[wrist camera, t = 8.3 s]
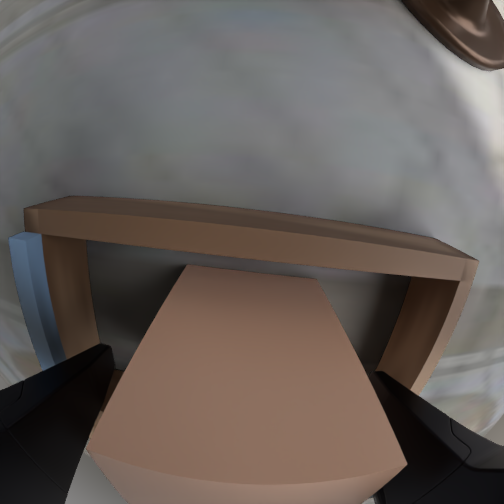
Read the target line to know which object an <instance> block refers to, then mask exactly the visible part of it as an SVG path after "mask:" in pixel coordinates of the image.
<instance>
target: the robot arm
mask: <svg viewBox="0 0 504 504" xmlns="http://www.w3.org/2000/svg"><path fill="white" fill-rule="evenodd" d="M114 369H115V362H114V358H113V353H112V349H111V347H110V346H109V345H105V344H102V343H99V344H97V345H95V346H93V347H91V348H89V349H87V350H85V351H83V352H81V353H79V354H77V355H75V356H73V357H71V358H69V359H66V360H64V361H62V362H60V363H58V364H56V365H54V366H52V367H50V368H48V369H46V370H44V371H42V372H40V373H38V374H35V375H33V376H31V377H29V378H27V379H25V380H24V381H21V382H19V383H16V384H14V385H12V386H10V387H8V388H5V389H2V390H0V504H65V501H66V498H67V495H68V494H67V493H68V491H69V488H70V485H71V483H72V480H73V477H74V474H75V471H76V469H77V466H78V463H79V461H80V458H81V455H82V453H83V451H84V448H85V446H86V443H87V441H88V438H89V436H90V433H91V431H92V429H93V426H94V424H95V422H96V419H97V417H98V415H99V412H100V410H101V408H102V405H103V403H104V400H105V397H106V394H107V391H108V387H109V384H110V381H111V378H112V375H113V372H114ZM368 378H369V380H370V382H371V384H372V386H373V389H374V391H375V393H376V395H377V397H378V399H379V401H380V403H381V405H382V408H383V410H384V412H385V414H386V416H387V418H388V421H389V423H390V425H391V427H392V429H393V432H394V434H395V436H396V439H397V441H398V443H399V445H400V448H401V450H402V452H403V455H404V457H405V459H406V462H407V465H406V466H405V467H404V468H403V469H402V470H401V471H400V472H399V473H398V474H397V475H396V476H394V477H393V478H392V479H391V480H390V481H389V482H388V483H386V484H385V485H384V486H383V487H382V488H380V489H379V490H378V491H377V492H376V493H374V494H373V495H372V496H370V497H369V498H374V501H375V504H504V446H501V445H498V444H496V443H494V442H492V441H490V440H488V439H486V438H484V437H482V436H480V435H478V434H476V433H475V432H473V431H471V430H469V429H467V428H466V427H464V426H463V425H461V424H459V423H458V422H456V421H455V420H453V419H452V418H450V417H449V416H447V415H446V414H444V413H443V412H442V411H440V410H439V409H437V408H436V407H434V406H433V405H431V404H430V403H428V402H427V401H425V400H424V399H422V398H421V397H420V396H418V395H417V394H415V393H414V392H412V391H411V390H409V389H408V388H407V387H405V386H404V385H402V384H401V383H399V382H398V381H397V380H395V379H394V378H392V377H391V376H389V375H388V374H387V373H385V372H384V371H373V372H371V374H370V375H369V377H368ZM369 498H368V499H369Z"/></svg>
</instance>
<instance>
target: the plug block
mask: <svg viewBox="0 0 504 504" xmlns="http://www.w3.org/2000/svg"><path fill="white" fill-rule="evenodd" d="M86 450H87V451H88V453H89V454H90V456H91V457H92V458H93V460H94V461H95V463H96V464H97V466H98V467H99V468H100V469H101V471H102V472H103V474H104V475H105V476H106V478H107V479H108V480H109V481H110V483H111V484H112V485H113V486H114V488H115V489H116V490H117V491H118V493H119V494H120V495H121V496H122V497H123V498H124V499H125V501H126V502H127V503H128V504H361V503H363V502H364V501H365V500H367V499H368V498H369V497H370V496H372V495H373V494H374V493H376V492H377V491H378V490H379V489H380V488H382V487H383V486H384V485H385V484H386V483H388V482H389V481H390V480H391V479H392V478H393V477H394V476H396V475H397V474H398V473H399V472H400V471H401V470H402V469H403V468H404V467H405V466H406V465H407V462H406V459H405V457H404V455H403V452H402V450H401V448H400V445H399V443H398V441H397V439H396V436H395V434H394V432H393V429H392V427H391V425H390V423H389V421H388V418H387V416H386V414H385V412H384V410H383V408H382V405H381V403H380V401H379V399H378V397H377V395H376V393H375V391H374V389H373V386H372V384H371V382H370V380H369V378H368V376H367V374H366V372H365V370H364V368H363V366H362V364H361V362H360V360H359V358H358V356H357V354H356V352H355V350H354V348H353V346H352V344H351V342H350V340H349V338H348V337H347V335H346V333H345V331H344V329H343V327H342V325H341V323H340V321H339V319H338V317H337V316H336V314H335V312H334V310H333V308H332V306H331V304H330V303H329V301H328V299H327V297H326V295H325V293H324V292H323V290H322V288H321V286H320V284H319V282H318V281H317V279H311V278H301V277H292V276H283V275H273V274H264V273H255V272H247V271H238V270H230V269H221V268H213V267H205V266H197V265H189V264H187V265H186V267H185V269H184V270H183V272H182V273H181V275H180V277H179V278H178V280H177V282H176V283H175V285H174V286H173V288H172V290H171V291H170V293H169V295H168V296H167V298H166V300H165V301H164V303H163V305H162V306H161V308H160V310H159V311H158V313H157V315H156V317H155V318H154V320H153V322H152V323H151V325H150V327H149V329H148V330H147V332H146V334H145V336H144V337H143V339H142V341H141V343H140V344H139V346H138V348H137V350H136V352H135V353H134V355H133V357H132V359H131V361H130V362H129V364H128V366H127V368H126V370H125V372H124V374H123V375H122V377H121V379H120V381H119V383H118V385H117V387H116V389H115V391H114V392H113V394H112V396H111V398H110V400H109V402H108V404H107V406H106V408H105V410H104V412H103V414H102V416H101V418H100V420H99V422H98V424H97V426H96V428H95V430H94V432H93V435H92V437H91V439H90V441H89V443H88V445H87V447H86Z"/></svg>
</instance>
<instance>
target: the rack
mask: <svg viewBox="0 0 504 504" xmlns="http://www.w3.org/2000/svg"><path fill="white" fill-rule="evenodd" d="M24 224H25V232H21V233H19V234H16V235H14V236H12V237H9V238H8V239H9V247H10V254H11V261H12V267H13V272H14V278H15V283H16V287H17V292H18V296H19V300H20V304H21V308H22V312H23V315H24V319H25V322H26V326H27V329H28V332H29V335H30V338H31V341H32V344H33V347H34V349H35V352H36V355H37V357H38V360H39V363H40V365H41V368H42V370H43V371H44V370H46V369H48V368H50V367H52V366H54V365H56V364H58V363H60V362H62V361H64V360H66V359H69V358H71V357H73V356H75V355H77V354H79V353H81V352H83V351H85V350H87V349H89V348H91V347H93V346H95V345H97V344H99V343H100V340H99V335H98V331H97V325H96V320H95V314H94V308H93V302H92V295H91V288H90V279H89V270H88V259H87V245H86V240H93V241H101V242H109V243H117V244H126V245H134V246H142V247H150V248H159V249H167V250H176V251H184V252H193V253H202V254H210V255H219V256H228V257H236V258H245V259H254V260H263V261H272V262H281V263H291V264H300V265H309V266H318V267H328V268H337V269H347V270H356V271H366V272H376V273H385V274H395V275H405V276H412V278H411V281H410V284H409V288H408V291H407V294H406V297H405V300H404V303H403V305H402V308H401V311H400V314H399V317H398V319H397V322H396V324H395V327H394V330H393V332H392V335H391V337H390V339H389V342H388V344H387V347H386V349H385V351H384V353H383V356H382V358H381V360H380V362H379V364H378V367H377V369H376V371H384V372H385V373H387V374H388V375H389V376H391V377H392V378H394V379H395V380H397V381H398V382H399V383H401V384H402V385H404V386H405V387H407V388H408V389H409V390H411V391H412V392H414V393H415V394H417V395H418V396H419V394H420V393H421V391H422V390H423V388H424V386H425V385H426V383H427V381H428V380H429V378H430V376H431V374H432V373H433V371H434V369H435V367H436V365H437V364H438V362H439V360H440V358H441V356H442V354H443V352H444V350H445V348H446V346H447V344H448V342H449V340H450V338H451V336H452V333H453V331H454V329H455V327H456V324H457V322H458V320H459V317H460V315H461V313H462V310H463V308H464V305H465V302H466V300H467V297H468V294H469V291H470V289H471V286H472V283H473V280H474V277H475V274H476V270H477V267H478V264H479V261H478V260H477V259H475V258H473V257H471V256H469V255H467V254H465V253H463V252H461V251H460V250H458V249H456V248H454V247H452V246H450V245H448V244H446V243H444V242H442V241H440V240H438V239H435V238H431V237H426V236H421V235H415V234H410V233H405V232H400V231H394V230H389V229H383V228H377V227H371V226H365V225H359V224H353V223H347V222H341V221H334V220H328V219H321V218H314V217H307V216H300V215H292V214H285V213H277V212H269V211H261V210H253V209H244V208H235V207H226V206H216V205H206V204H195V203H184V202H172V201H160V200H146V199H131V198H114V197H93V196H68V197H64V198H60V199H56V200H52V201H48V202H44V203H41V204H37V205H33V206H30V207H27V208H24ZM123 374H124V372H123V371H119V370H115V369H114V372H113V375H112V378H111V381H110V384H109V387H108V391H107V394H106V397H105V400H104V403H103V405H102V408H101V410H100V412H99V415H98V417H97V419H96V422H95V424H94V426H93V429H92V431H91V433H90V436H89V438H90V439H91V437H92V435H93V432H94V430H95V428H96V426H97V424H98V422H99V420H100V418H101V416H102V414H103V412H104V410H105V408H106V406H107V404H108V402H109V400H110V398H111V396H112V394H113V392H114V391H115V389H116V387H117V385H118V383H119V381H120V379H121V377H122V375H123Z"/></svg>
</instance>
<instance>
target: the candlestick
mask: <svg viewBox="0 0 504 504" xmlns="http://www.w3.org/2000/svg"><path fill="white" fill-rule="evenodd" d="M401 1H402V2H403V3H404V4H405V6H406V7H407V8H408V9H409V11H410V12H411V13H412V14H413V15H414V16H415V17H416V18H417V19H418V20H419V22H420V23H421V24H422V25H423V26H424V27H425V28H426V29H427V30H428V31H429V32H430V33H431V34H432V35H433V36H434V37H435V38H437V39H438V40H439V41H440V42H441V43H442V44H443V45H445V46H446V47H447V48H448V49H449V50H450V51H452V52H453V53H454V54H456V55H457V56H458V57H459V58H461V59H462V60H464V61H465V62H467V63H469V64H470V65H472V66H474V67H476V68H479V69H481V70H486V71H493V70H498V69H502V68H504V20H503V18H502V16H501V14H500V12H499V11H498V9H497V7H496V6H495V4H494V3H493V1H492V0H401Z"/></svg>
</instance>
